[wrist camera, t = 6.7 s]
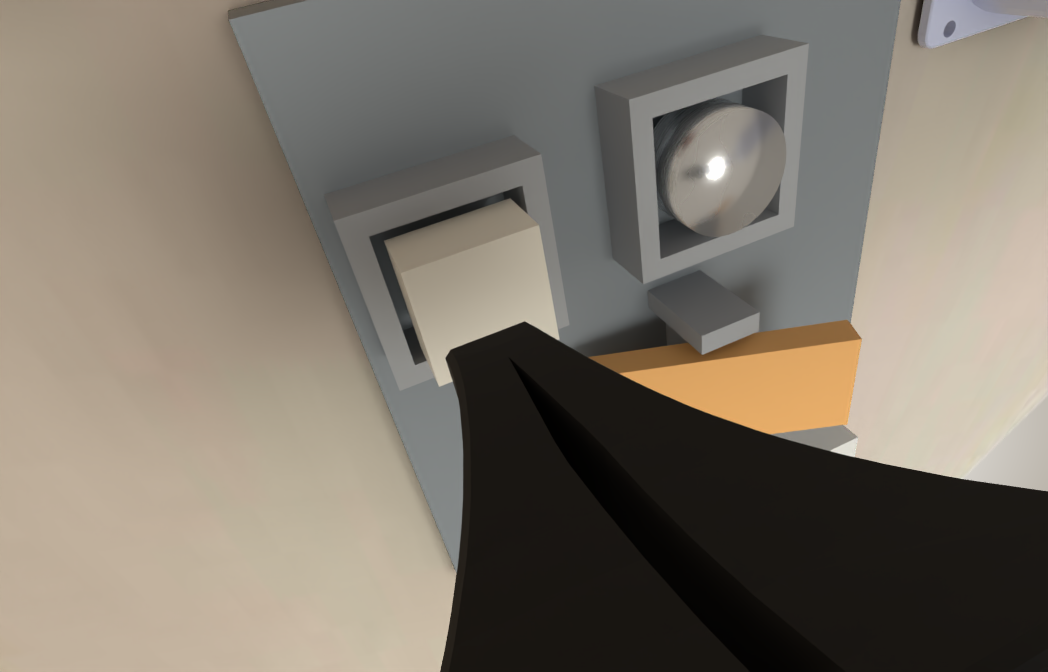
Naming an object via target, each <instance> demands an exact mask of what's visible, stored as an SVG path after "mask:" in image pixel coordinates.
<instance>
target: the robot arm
mask: <svg viewBox="0 0 1048 672" xmlns="http://www.w3.org/2000/svg"><path fill="white" fill-rule="evenodd" d="M1026 17H1039V18H1048V0H924V2H923V8H922V13H921V19H920V25H919V30H918V43H919V45H920V46H921V47H924V48H936V47H939V46H942V45H945V44H948V43H951V42H954V41H957V40H960V39H963V38H966V37H969V36H972V35H975V34H978V33H981V32H984V31H987V30H990V29H993V28H996V27H999V26H1002V25H1005V24H1008V23H1011V22H1014V21H1017V20H1020V19H1023V18H1026ZM445 359H446V362H447V365H448V368H449V372H450V375H451V378H452V381H453V384H454V387H455V390H456V393H457V397H458V400H459V407H460V417H461V428H462V440H463V508H462V525H461V537H460V548H459V559H458V568H457V575H456V582H455V590H454V597H453V604H452V612H451V618H450V624H449V630H448V636H447V641H446V647H445V652H444V656H443V661H442V666H441V671H440V672H1048V491H1041V490H1034V489H1027V488H1020V487H1013V486H1006V485H999V484H992V483H984V482H977V481H971V480H964V479H959V478H953V477H947V476H942V475H937V474H932V473H927V472H922V471H917V470H912V469H907V468H902V467H897V466H892V465H886V464H882V463H878V462H873V461H869V460H865V459H860V458H856V457H851V456H847V455H843V454H839V453H835V452H832V451H828V450H824V449H820V448H817V447H813V446H809V445H806V444H802V443H798V442H794V441H791V440H787V439H784V438H780V437H777V436H774V435H771V434H767V433H764V432H761V431H758V430H755V429H752V428H749V427H746V426H743V425H740V424H737V423H734V422H732V421H729V420H726V419H723V418H720V417H717V416H714V415H711V414H709V413H706V412H704V411H701V410H698V409H696V408H693V407H691V406H688V405H686V404H683V403H681V402H679V401H677V400H674V399H672V398H670V397H667V396H665V395H663V394H661V393H658V392H656V391H654V390H652V389H650V388H648V387H645V386H643V385H641V384H639V383H637V382H635V381H633V380H631V379H629V378H627V377H625V376H623V375H621V374H619V373H617V372H615V371H613V370H611V369H609V368H607V367H605V366H603V365H602V364H600V363H598V362H596V361H594V360H592V359H590V358H589V357H587V356H585V355H583V354H581V353H580V352H578V351H576V350H574V349H573V348H571V347H569V346H567V345H565V344H564V343H562V342H560V341H559V340H557V339H555V338H553V337H552V336H550V335H548V334H547V333H545V332H543V331H542V330H540V329H538V328H536V327H535V326H533V325H531V324H529V323H527V322H525V321H524V322H522V323H519V324H516V325H514V326H511V327H508V328H506V329H503V330H501V331H498V332H495V333H493V334H490V335H487V336H485V337H482V338H480V339H477V340H474V341H472V342H469V343H466V344H464V345H461V346H459V347H456V348H453V349H451V350H450V351H449V353H448V355H447V356H446V358H445Z"/></svg>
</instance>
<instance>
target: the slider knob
mask: <svg viewBox="0 0 1048 672" xmlns="http://www.w3.org/2000/svg"><path fill="white" fill-rule="evenodd" d="M771 435H774V436H777V437H780V438H784V439H787V440H791V441H794V442H798V443H802V444H806V445H809V446H813V447H817V448H820V449H824V450H828V451H832V452H835V453H839V454H843V455H847V456H851V457H855V451H856V446H857V441H858V437H857V436H856V435H855V434H854V433H852V432H851V431H850V430H849V429H847V428H846V427H845V426H843V425H838V426H830V427H823V428H815V429H807V430H799V431H792V432H784V433H776V434H771Z"/></svg>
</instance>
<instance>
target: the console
mask: <svg viewBox="0 0 1048 672" xmlns="http://www.w3.org/2000/svg"><path fill="white" fill-rule="evenodd" d="M900 2H901V0H270V1H266V2H262V3H258V4H254V5H249V6H245V7H241V8H237V9H233V10H229V11H228V14H229V22H230V24H231V27H232V29H233V32H234V34H235V36H236V39H237V41H238V44H239V46H240V49H241V51H242V53H243V56H244V58H245V61H246V63H247V66H248V68H249V70H250V73H251V75H252V78H253V80H254V83H255V85H256V87H257V90H258V92H259V95H260V97H261V100H262V102H263V104H264V107H265V109H266V112H267V114H268V117H269V119H270V121H271V124H272V126H273V129H274V131H275V134H276V136H277V138H278V141H279V143H280V146H281V148H282V151H283V153H284V155H285V158H286V160H287V163H288V165H289V167H290V170H291V172H292V175H293V177H294V180H295V182H296V184H297V187H298V189H299V192H300V194H301V197H302V199H303V201H304V204H305V206H306V209H307V211H308V214H309V216H310V218H311V221H312V223H313V226H314V228H315V231H316V233H317V235H318V238H319V240H320V243H321V245H322V248H323V250H324V252H325V255H326V257H327V260H328V262H329V265H330V267H331V269H332V272H333V274H334V277H335V279H336V282H337V284H338V286H339V289H340V291H341V294H342V296H343V299H344V301H345V303H346V306H347V308H348V311H349V313H350V316H351V318H352V320H353V323H354V325H355V328H356V330H357V332H358V335H359V337H360V340H361V342H362V345H363V347H364V349H365V352H366V354H367V357H368V359H369V362H370V364H371V366H372V369H373V371H374V374H375V376H376V379H377V381H378V383H379V386H380V388H381V391H382V393H383V396H384V398H385V400H386V403H387V405H388V408H389V410H390V413H391V415H392V417H393V420H394V422H395V425H396V427H397V430H398V432H399V434H400V437H401V439H402V442H403V444H404V447H405V449H406V451H407V454H408V456H409V459H410V461H411V464H412V466H413V468H414V471H415V473H416V476H417V478H418V481H419V483H420V485H421V488H422V490H423V493H424V495H425V497H426V500H427V502H428V505H429V507H430V510H431V512H432V514H433V517H434V519H435V522H436V524H437V527H438V529H439V531H440V534H441V536H442V539H443V541H444V544H445V546H446V548H447V551H448V553H449V556H450V558H451V561H452V563H453V565H454V568H455V570H456V573H457V568H458V559H459V548H460V537H461V525H462V508H463V440H462V428H461V417H460V407H459V400H458V397H457V393H456V390H455V387H454V384H453V382H450V383H448V384H445V385H443V386H440V387H439V385H438V383H437V381H436V379H435V377H434V375H433V373H432V371H431V368H430V366H429V364H428V362H427V360H426V358H425V356H424V354H423V351H422V349H421V347H420V344H419V341H418V338H417V335H416V332H415V329H414V327H413V324H412V321H411V318H410V315H409V312H408V309H407V306H406V303H405V300H404V298H403V295H402V292H401V289H400V286H399V283H398V280H397V277H396V274H395V271H394V269H393V266H392V263H391V260H390V257H389V254H388V251H387V248H386V245H385V242H384V240H387V239H390V238H393V237H396V236H399V235H402V234H405V233H408V232H411V231H414V230H417V229H420V228H423V227H426V226H429V225H432V224H435V223H438V222H441V221H444V220H447V219H450V218H453V217H456V216H459V215H462V214H465V213H468V212H471V211H474V210H477V209H480V208H483V207H486V206H489V205H492V204H495V203H498V202H500V201H503V200H506V199H509V198H511V199H512V200H513V201H514V202H515V203H516V204H517V205H518V206H519V207H520V208H521V209H522V210H524V211H525V212H526V213H527V214H528V215H529V216H530V217H531V218H532V219H533V220H534V221H535V222H536V223H538V224H539V228H540V233H541V239H542V244H543V250H544V255H545V261H546V266H547V272H548V278H549V283H550V289H551V294H552V300H553V305H554V311H555V316H556V322H557V328H558V333H559V339H560V340H559V341H560V342H562V343H564V344H565V345H567V346H569V347H571V348H573V349H574V350H576V351H578V352H580V353H581V354H583V355H585V356H587V357H592V356H599V355H606V354H613V353H620V352H627V351H634V350H641V349H648V348H655V347H661V346H668V345H675V344H682V343H689V344H690V345H691V346H692V347H694V348H695V349H696V350H697V351H698V352H699V353H700V354H702V355H703V354H706V353H708V352H710V351H713V350H715V349H718V348H720V347H722V346H725V345H727V344H729V343H732V342H734V341H737V340H739V339H741V338H744V337H746V336H749V335H751V334H753V333H758V332H765V331H772V330H779V329H786V328H793V327H800V326H807V325H814V324H820V323H827V322H834V321H841V320H848V321H849V322H850V323H851V317H852V310H853V304H854V297H855V291H856V285H857V278H858V272H859V265H860V259H861V252H862V246H863V240H864V233H865V227H866V220H867V214H868V207H869V201H870V195H871V188H872V182H873V175H874V169H875V163H876V156H877V150H878V143H879V137H880V130H881V124H882V118H883V111H884V105H885V98H886V92H887V85H888V79H889V73H890V66H891V60H892V53H893V47H894V40H895V34H896V28H897V21H898V15H899V8H900ZM716 97H720V98H723V99H726V100H729V101H732V102H735V103H739V104H742V105H745V106H748V107H751V108H754V109H757V110H760V111H763V112H765V113H767V114H769V115H770V116H771V117H773V118H774V119H775V120H776V121H777V123H778V124H779V126H780V127H781V129H782V131H783V134H784V137H785V141H786V165H785V169H784V174H783V177H782V180H781V182H780V185H779V187H778V189H777V191H776V193H775V195H774V197H773V198H772V200H771V201H770V203H769V204H768V205H767V207H766V208H765V209H764V211H763V212H762V213H761V214H760V215H759V216H758V217H757V218H756V219H755V220H753V221H752V222H751V223H750V224H748V225H747V226H746V227H744V228H742V229H740V230H739V231H737V232H734V233H732V234H729V235H726V236H720V237H709V236H704V235H701V234H699V233H697V232H695V231H693V230H692V229H690V228H688V227H687V226H685V225H684V224H682V223H680V222H679V221H677V220H676V219H674V218H673V217H671V216H669V215H668V214H666V213H665V212H663V211H661V210H660V209H658V205H657V188H656V170H655V153H654V135H653V130H654V128H655V127H656V125H657V124H658V122H659V121H660V120H661V119H662V118H663V116H664V115H665V114H666V113H669V112H672V111H675V110H679V109H682V108H685V107H688V106H691V105H694V104H697V103H700V102H703V101H706V100H709V99H713V98H716Z"/></svg>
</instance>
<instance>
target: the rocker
mask: <svg viewBox="0 0 1048 672" xmlns="http://www.w3.org/2000/svg"><path fill="white" fill-rule="evenodd" d="M861 341H862V339H861V337H860V336H859V335H858V333H857V332H856V331H855V329H854V328H853V327H852V325H851V324H850V322H849V321H848V320H841V321H834V322H827V323H820V324H814V325H807V326H800V327H793V328H786V329H779V330H772V331H765V332H758V333H753V334H751V335H749V336H746V337H744V338H741V339H739V340H737V341H734V342H732V343H729V344H727V345H725V346H722V347H720V348H718V349H715V350H713V351H710V352H708V353H706V354H703V355H702V354H700V353H699V352H698V351H697V350H696V349H695V348H694V347H692V346H691V345H690V344H689V343H682V344H675V345H668V346H661V347H655V348H648V349H641V350H634V351H627V352H620V353H613V354H606V355H599V356H592V357H589V358H590V359H592V360H594V361H596V362H598V363H600V364H602V365H603V366H605V367H607V368H609V369H611V370H613V371H615V372H617V373H619V374H621V375H623V376H625V377H627V378H629V379H631V380H633V381H635V382H637V383H639V384H641V385H643V386H645V387H648V388H650V389H652V390H654V391H656V392H658V393H661V394H663V395H665V396H667V397H670V398H672V399H674V400H677V401H679V402H681V403H683V404H686V405H688V406H691V407H693V408H696V409H698V410H701V411H704V412H706V413H709V414H711V415H714V416H717V417H720V418H723V419H726V420H729V421H732V422H734V423H737V424H740V425H743V426H746V427H749V428H752V429H755V430H758V431H761V432H764V433H767V434H776V433H784V432H792V431H799V430H807V429H815V428H823V427H830V426H838V425H846V424H847V422H848V416H849V411H850V405H851V399H852V393H853V387H854V382H855V376H856V370H857V364H858V358H859V352H860V347H861Z"/></svg>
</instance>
